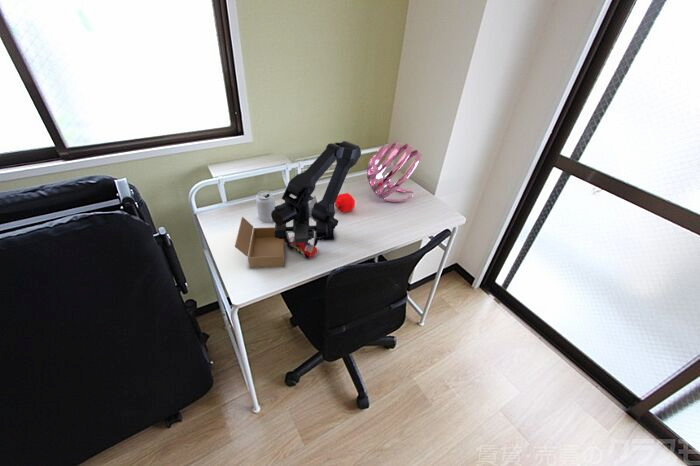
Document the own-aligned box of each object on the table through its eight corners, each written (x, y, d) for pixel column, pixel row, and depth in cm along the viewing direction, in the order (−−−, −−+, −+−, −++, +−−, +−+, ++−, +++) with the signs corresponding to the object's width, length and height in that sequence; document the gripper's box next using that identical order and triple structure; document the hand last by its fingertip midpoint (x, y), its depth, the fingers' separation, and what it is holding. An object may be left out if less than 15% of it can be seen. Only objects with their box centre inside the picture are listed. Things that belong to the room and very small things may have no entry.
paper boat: (301, 220, 129) (288, 206, 133) (306, 225, 136) (293, 211, 139) (322, 201, 131) (308, 187, 134) (325, 206, 137) (312, 194, 140)
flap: (235, 246, 101) (234, 246, 101) (247, 256, 104) (247, 256, 104) (242, 216, 113) (241, 217, 113) (253, 226, 117) (252, 226, 117)
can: (272, 224, 128) (269, 200, 120) (255, 221, 129) (251, 197, 121) (279, 214, 133) (277, 191, 126) (263, 211, 134) (260, 188, 127)
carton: (283, 266, 109) (282, 256, 106) (249, 268, 107) (247, 257, 104) (285, 236, 122) (284, 226, 119) (255, 237, 120) (253, 227, 117)
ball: (333, 206, 141) (333, 192, 136) (349, 203, 144) (350, 189, 139) (339, 216, 136) (340, 201, 131) (356, 213, 138) (357, 198, 134)
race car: (320, 253, 116) (320, 245, 113) (311, 261, 112) (311, 253, 110) (294, 239, 121) (293, 231, 119) (284, 246, 117) (284, 238, 115)
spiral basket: (445, 158, 144) (403, 119, 138) (429, 197, 128) (381, 154, 123) (407, 185, 167) (370, 152, 161) (389, 221, 151) (347, 186, 145)
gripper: (271, 228, 98) (275, 263, 108) (329, 226, 101) (328, 260, 111) (273, 208, 107) (277, 242, 116) (326, 207, 110) (325, 240, 119)
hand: (302, 246), depth 115 cm, fingers open, 9 cm apart
